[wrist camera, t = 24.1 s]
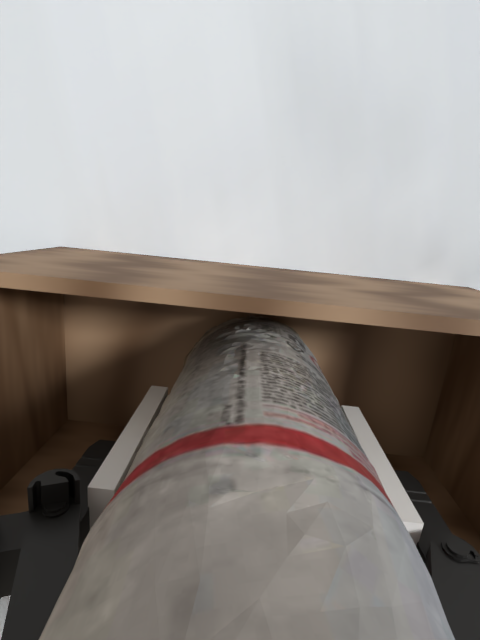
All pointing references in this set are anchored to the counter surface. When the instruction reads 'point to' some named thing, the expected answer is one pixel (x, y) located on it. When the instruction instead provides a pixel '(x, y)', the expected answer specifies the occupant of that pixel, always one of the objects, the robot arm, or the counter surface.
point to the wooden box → (211, 310)
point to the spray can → (249, 515)
